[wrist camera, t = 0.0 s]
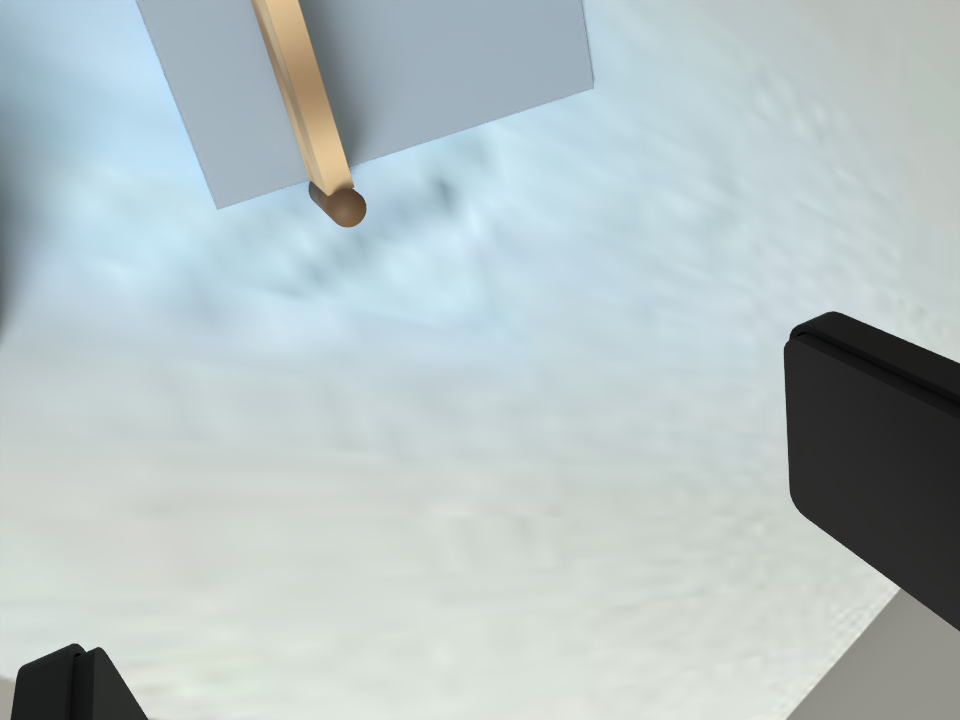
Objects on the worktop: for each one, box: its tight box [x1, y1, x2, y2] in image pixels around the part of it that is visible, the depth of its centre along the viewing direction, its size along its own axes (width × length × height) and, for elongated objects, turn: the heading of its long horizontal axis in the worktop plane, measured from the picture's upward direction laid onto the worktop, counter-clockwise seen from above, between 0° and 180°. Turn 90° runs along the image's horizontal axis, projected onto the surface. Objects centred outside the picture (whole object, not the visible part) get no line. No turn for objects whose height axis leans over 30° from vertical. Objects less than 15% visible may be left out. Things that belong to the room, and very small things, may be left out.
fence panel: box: [251, 0, 366, 227], centre depth 35 cm, size 10×2×4 cm, turn 13°
